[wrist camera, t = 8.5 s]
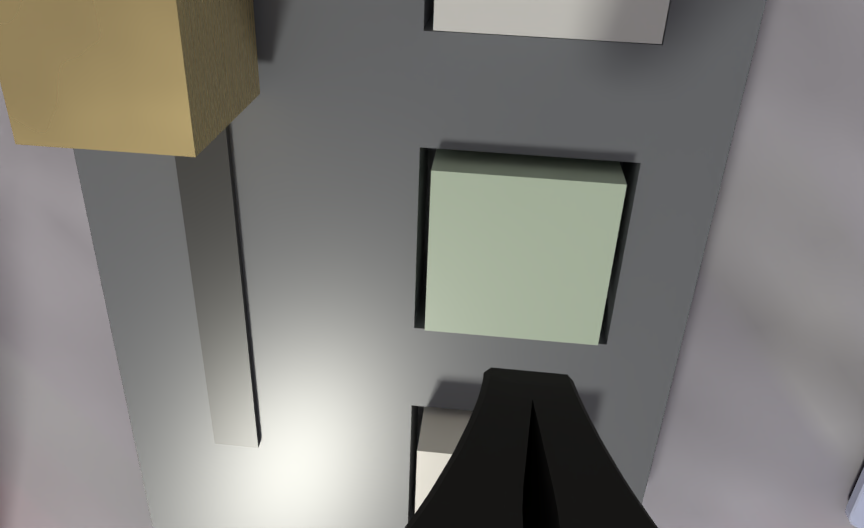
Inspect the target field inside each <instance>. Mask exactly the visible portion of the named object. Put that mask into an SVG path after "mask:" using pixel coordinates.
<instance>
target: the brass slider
mask: <svg viewBox="0 0 864 528" xmlns="http://www.w3.org/2000/svg"><path fill="white" fill-rule="evenodd" d="M0 83H1V87H2V91H3V95H4V99H5V103H6V107H7V111H8V115H9V119H10V123H11V127H12V131H13V135H14V139H15V143H16V144H21V145H34V146H48V147H62V148H76V149H89V150H103V151H117V152H131V153H144V154H158V155H172V156H186V157H196V156H197V155H198V154H199V153H200V152H201V151H202V150H203V149H204V148H205V147H207V146H208V145H209V144H210V143H211V142H212V141H213V140H214V139H215V138H216V137H217V136H218V135H219V134H220V133H221V132H222V131H223V130H224V129H225V128H226V127H227V126H228V125H229V124H230V123H231V122H232V121H233V120H234V119H235V118H236V117H237V116H238V115H239V114H240V113H241V112H242V111H243V110H244V109H245V108H246V107H247V106H248V105H249V104H250V103H251V102H252V101H253V100H254V99H255V98H256V97H257V96H258V95H259V94H260V86H259V73H258V60H257V46H256V33H255V20H254V7H253V0H0Z"/></svg>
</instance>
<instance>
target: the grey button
mask: <svg viewBox="0 0 864 528" xmlns="http://www.w3.org/2000/svg"><path fill="white" fill-rule="evenodd" d="M669 2H670V0H434V21H433V30H435V31H452V32H468V33H485V34H501V35H518V36H535V37H551V38H568V39H584V40H601V41H618V42H634V43H651V44H662V39H663V34H664V29H665V23H666V18H667V13H668V7H669Z"/></svg>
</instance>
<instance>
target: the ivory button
mask: <svg viewBox="0 0 864 528" xmlns="http://www.w3.org/2000/svg"><path fill="white" fill-rule="evenodd" d="M472 412H473V411H467V410H457V409H446V408H435V407H424V411H423V417H422V424H421V430H420V436H419V442H418V449H417V468H416V494H415V513H416V511H417V510H418V508H419V507H420V506H421V504H422V503H423V501H424V500H425V498H426V497H427V495H428V494H429V492H430V491H431V489H432V487H433V486H434V484H435V482H436V481H437V479H438V477H439V476H440V474H441V472H442V471H443V469H444V467H445V466H446V464H447V462H448V461H449V459H450V457H451V455H452V454H453V452H454V450H455V448H456V446H457V444H458V442H459V440H460V438H461V436H462V434H463V432H464V430H465V428H466V426H467V424H468V421H469V419H470V417H471V414H472Z"/></svg>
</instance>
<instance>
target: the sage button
mask: <svg viewBox="0 0 864 528" xmlns="http://www.w3.org/2000/svg"><path fill="white" fill-rule="evenodd" d="M626 187H627V183H626V180H625V177H624V174H623V171H622V168H621V165H620V162H619V161H607V160H592V159H578V158H564V157H550V156H536V155H522V154H507V153H493V152H479V151H465V150H451V149H436V153H435V157H434V161H433V165H432V169H431V186H430V211H429V236H428V261H427V285H426V310H425V330H426V331H437V332H449V333H460V334H472V335H484V336H495V337H507V338H518V339H530V340H542V341H553V342H565V343H576V344H588V345H598V342H599V337H600V331H601V325H602V320H603V314H604V309H605V303H606V298H607V292H608V287H609V281H610V276H611V270H612V265H613V259H614V253H615V248H616V242H617V237H618V231H619V226H620V220H621V215H622V209H623V204H624V198H625V193H626Z"/></svg>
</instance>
